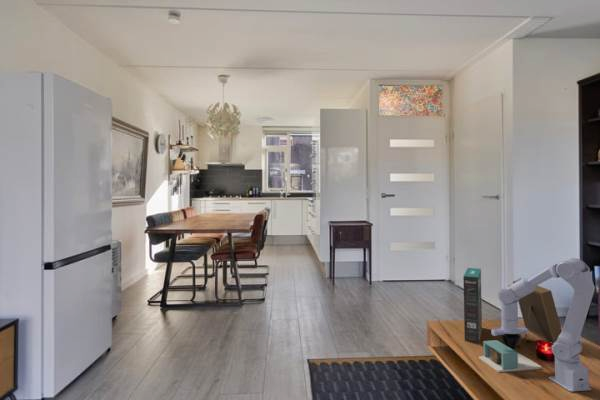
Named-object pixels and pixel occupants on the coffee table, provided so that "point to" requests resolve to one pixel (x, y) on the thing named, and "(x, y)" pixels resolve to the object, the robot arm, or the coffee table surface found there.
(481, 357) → the base plate
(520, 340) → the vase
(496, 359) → the block
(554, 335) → the photo frame
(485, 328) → the coffee table surface
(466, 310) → the cake mix box
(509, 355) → the cover
